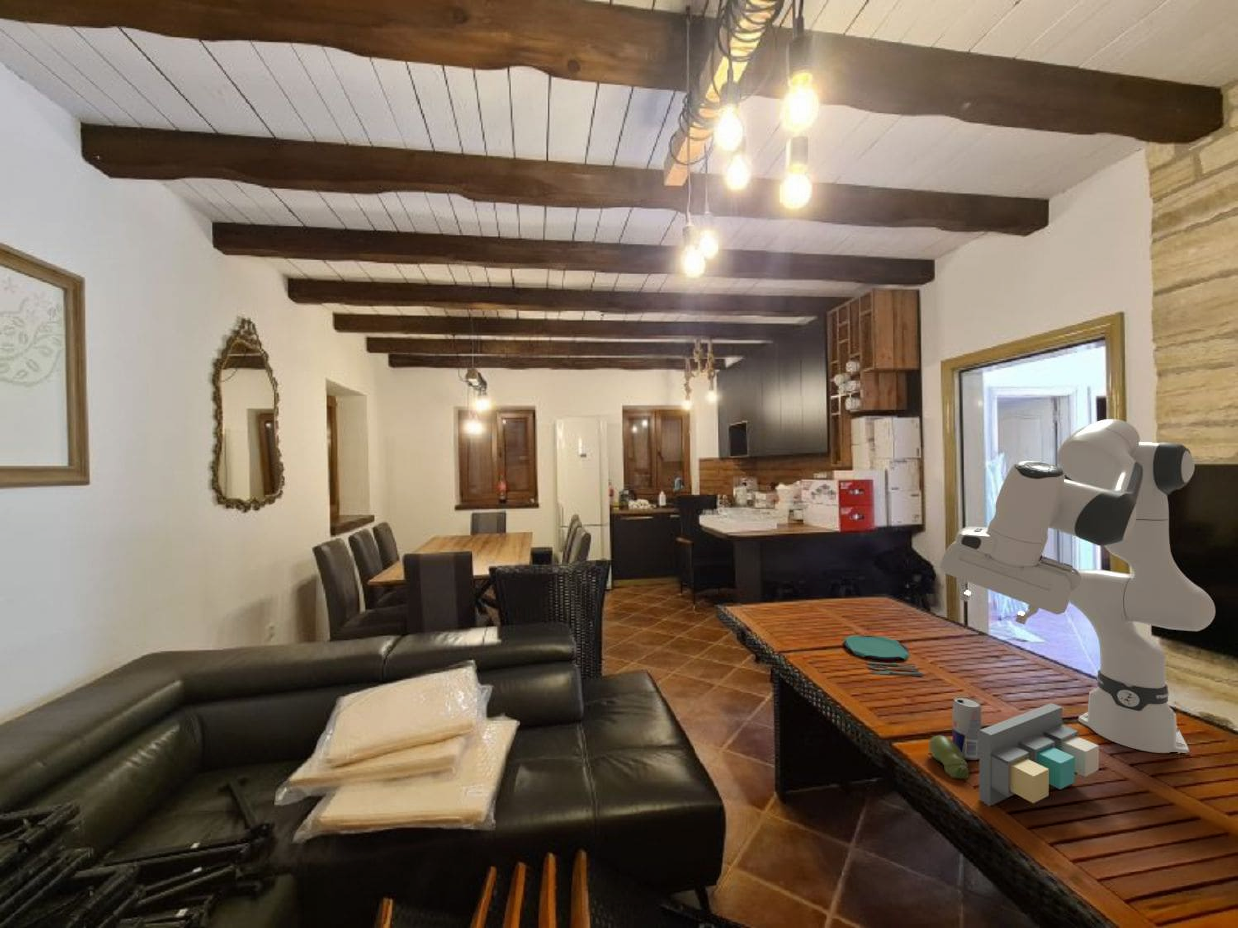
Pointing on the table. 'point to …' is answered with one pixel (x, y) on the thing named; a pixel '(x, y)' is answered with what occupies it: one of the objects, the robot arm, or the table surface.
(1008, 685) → the table surface
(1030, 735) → the control panel
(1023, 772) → the button mustard
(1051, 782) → the button teal
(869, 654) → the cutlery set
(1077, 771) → the button cream
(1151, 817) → the table surface
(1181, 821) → the table surface
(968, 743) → the energy drink
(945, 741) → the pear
